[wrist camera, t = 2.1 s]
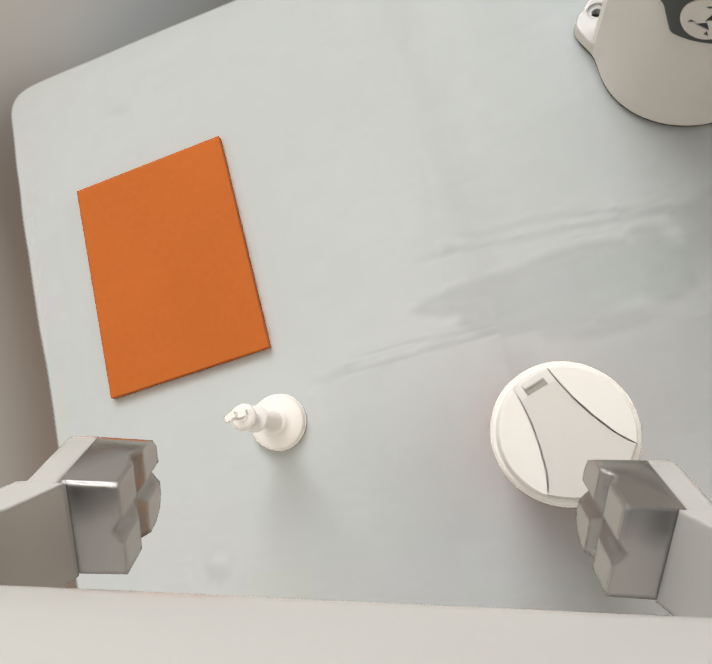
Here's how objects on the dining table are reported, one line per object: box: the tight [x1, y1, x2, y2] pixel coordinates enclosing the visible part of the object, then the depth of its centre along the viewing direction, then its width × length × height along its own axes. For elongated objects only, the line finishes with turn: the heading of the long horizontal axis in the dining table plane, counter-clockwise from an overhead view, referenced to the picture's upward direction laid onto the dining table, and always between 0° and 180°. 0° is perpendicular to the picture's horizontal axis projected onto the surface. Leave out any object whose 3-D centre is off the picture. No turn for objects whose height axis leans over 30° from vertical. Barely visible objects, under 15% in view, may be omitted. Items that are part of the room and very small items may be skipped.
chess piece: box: [224, 394, 306, 451], centre depth 47 cm, size 5×5×10 cm
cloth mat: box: [77, 136, 271, 399], centre depth 57 cm, size 22×16×1 cm
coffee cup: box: [490, 361, 642, 508], centre depth 40 cm, size 8×8×15 cm
